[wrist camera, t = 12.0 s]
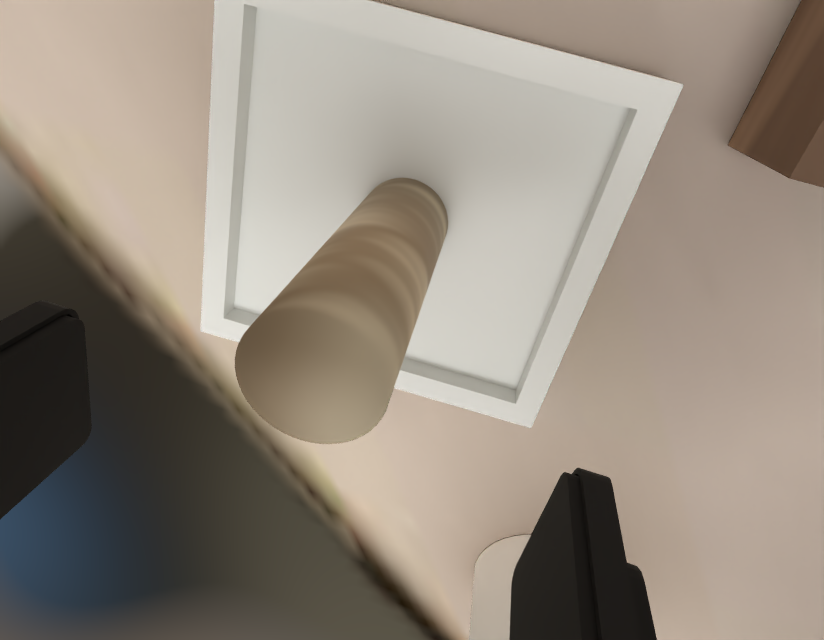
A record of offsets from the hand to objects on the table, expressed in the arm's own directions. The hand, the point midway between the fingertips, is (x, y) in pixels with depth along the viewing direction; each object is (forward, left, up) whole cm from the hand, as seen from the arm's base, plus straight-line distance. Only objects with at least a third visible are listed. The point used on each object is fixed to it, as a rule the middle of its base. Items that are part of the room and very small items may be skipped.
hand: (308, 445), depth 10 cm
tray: (+1, 0, -14) cm, 14 cm away
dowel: (+1, 0, -13) cm, 13 cm away
